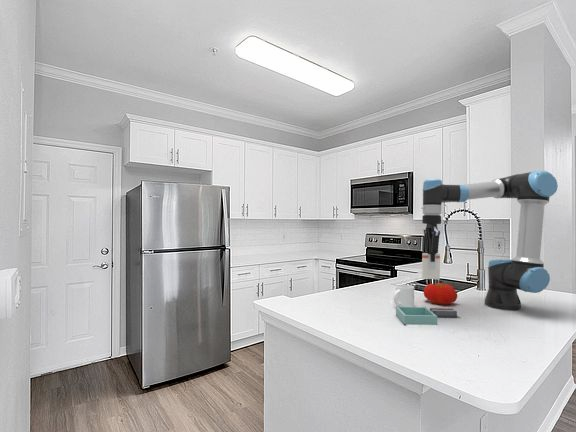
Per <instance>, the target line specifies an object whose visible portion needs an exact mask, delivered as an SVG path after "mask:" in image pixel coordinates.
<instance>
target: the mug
mask: <svg viewBox="0 0 576 432" xmlns="http://www.w3.org/2000/svg"><path fill="white" fill-rule="evenodd" d="M393 303H394V305H396V306H395V307H415V287H414V285H411V284H404V283H402V284H396V286H395V292H394V294H393Z"/></svg>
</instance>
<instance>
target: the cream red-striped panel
mask: <svg viewBox="0 0 576 432" xmlns="http://www.w3.org/2000/svg"><path fill="white" fill-rule="evenodd" d="M421 254H422V255H421V257H422V259H421V279H423V280H440V275H441V253H436V257H435V269H428V253H426V252H422V253H421Z"/></svg>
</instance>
